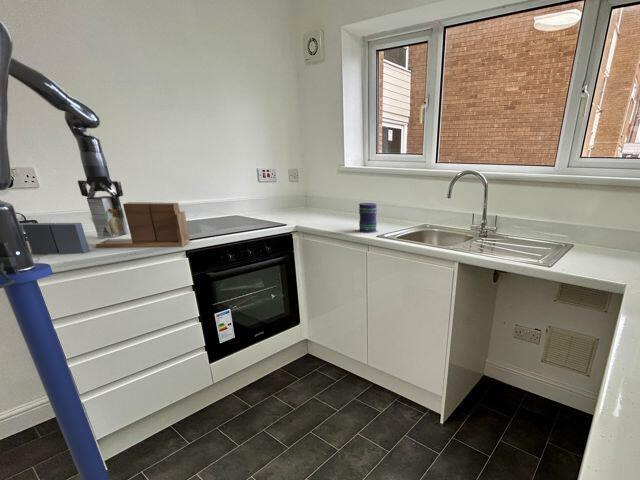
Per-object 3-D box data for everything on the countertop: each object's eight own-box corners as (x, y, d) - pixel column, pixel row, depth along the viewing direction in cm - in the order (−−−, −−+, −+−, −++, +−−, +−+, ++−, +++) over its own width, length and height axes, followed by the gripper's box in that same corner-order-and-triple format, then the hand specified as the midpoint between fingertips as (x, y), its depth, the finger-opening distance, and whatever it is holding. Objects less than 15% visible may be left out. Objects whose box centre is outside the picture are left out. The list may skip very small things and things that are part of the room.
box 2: (180, 241, 153) (173, 204, 147) (157, 242, 151) (149, 203, 145) (185, 238, 158) (178, 202, 152) (162, 239, 156) (154, 202, 150)
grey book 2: (83, 252, 136) (75, 224, 132) (59, 253, 134) (49, 224, 130) (89, 250, 140) (81, 222, 136) (65, 250, 138) (56, 222, 134)
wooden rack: (183, 246, 152) (176, 214, 147) (96, 247, 144) (86, 214, 139) (190, 241, 161) (184, 211, 156) (109, 242, 153) (100, 211, 148)
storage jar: (356, 231, 197) (355, 204, 191) (364, 228, 205) (364, 202, 200) (371, 233, 193) (371, 205, 188) (379, 230, 202) (379, 203, 196)
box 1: (156, 242, 151) (147, 203, 145) (132, 242, 148) (122, 203, 143) (161, 239, 156) (153, 202, 150) (138, 239, 154) (129, 202, 148)
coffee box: (114, 233, 153) (104, 195, 147) (129, 234, 153) (119, 196, 147) (97, 237, 144) (85, 197, 138) (112, 238, 144) (102, 198, 138)
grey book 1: (57, 253, 134) (48, 224, 130) (32, 253, 132) (22, 224, 128) (64, 251, 138) (55, 222, 134) (39, 251, 136) (29, 223, 132)
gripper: (67, 164, 133) (80, 208, 139) (110, 165, 136) (121, 208, 142) (79, 163, 140) (90, 206, 146) (120, 165, 143) (130, 206, 149)
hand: (106, 207), depth 144 cm, fingers closed on coffee box, 7 cm apart
